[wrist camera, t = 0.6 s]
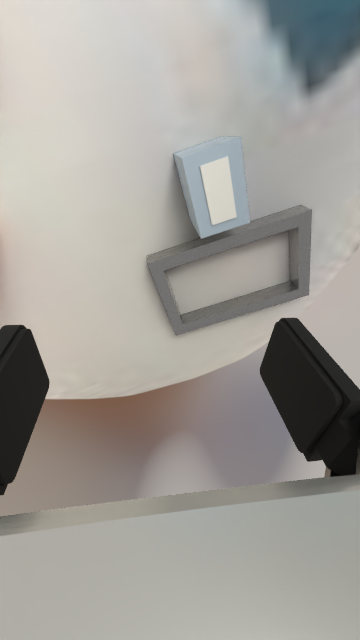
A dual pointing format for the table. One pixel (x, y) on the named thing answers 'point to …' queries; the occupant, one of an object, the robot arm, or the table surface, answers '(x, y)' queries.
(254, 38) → the table surface
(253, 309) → the grey rectangular frame
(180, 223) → the table surface
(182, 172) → the module
